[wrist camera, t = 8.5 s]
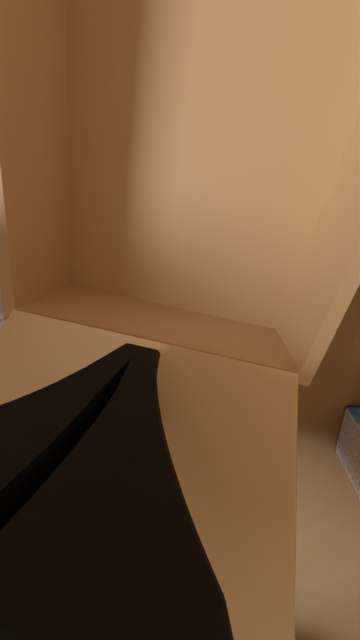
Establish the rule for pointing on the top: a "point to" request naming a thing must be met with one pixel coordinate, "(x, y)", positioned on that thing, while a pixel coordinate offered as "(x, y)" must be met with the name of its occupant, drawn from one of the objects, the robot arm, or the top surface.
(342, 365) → the top surface
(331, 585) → the top surface
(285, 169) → the carton
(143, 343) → the flap
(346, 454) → the medicine box
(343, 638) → the top surface
